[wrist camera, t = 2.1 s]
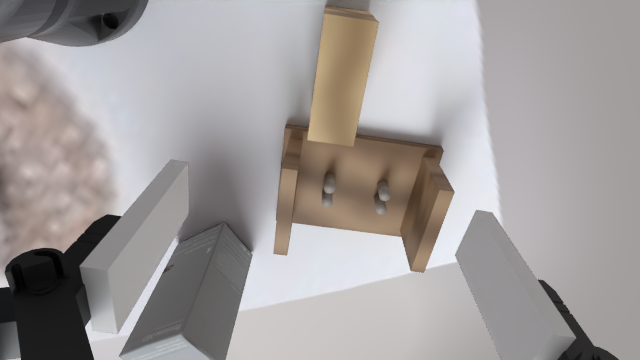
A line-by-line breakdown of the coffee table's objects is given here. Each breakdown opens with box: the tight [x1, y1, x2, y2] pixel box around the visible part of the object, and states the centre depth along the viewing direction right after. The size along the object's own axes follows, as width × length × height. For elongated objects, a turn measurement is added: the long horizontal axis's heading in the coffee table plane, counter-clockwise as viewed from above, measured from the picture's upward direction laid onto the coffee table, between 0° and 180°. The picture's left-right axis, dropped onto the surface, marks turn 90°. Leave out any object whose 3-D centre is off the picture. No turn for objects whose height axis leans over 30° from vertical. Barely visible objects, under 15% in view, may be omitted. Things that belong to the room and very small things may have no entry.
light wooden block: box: [307, 5, 379, 147], centre depth 32 cm, size 4×10×8 cm, turn 172°
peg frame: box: [273, 125, 454, 272], centre depth 39 cm, size 12×17×8 cm
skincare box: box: [119, 222, 252, 360], centre depth 41 cm, size 8×7×16 cm
